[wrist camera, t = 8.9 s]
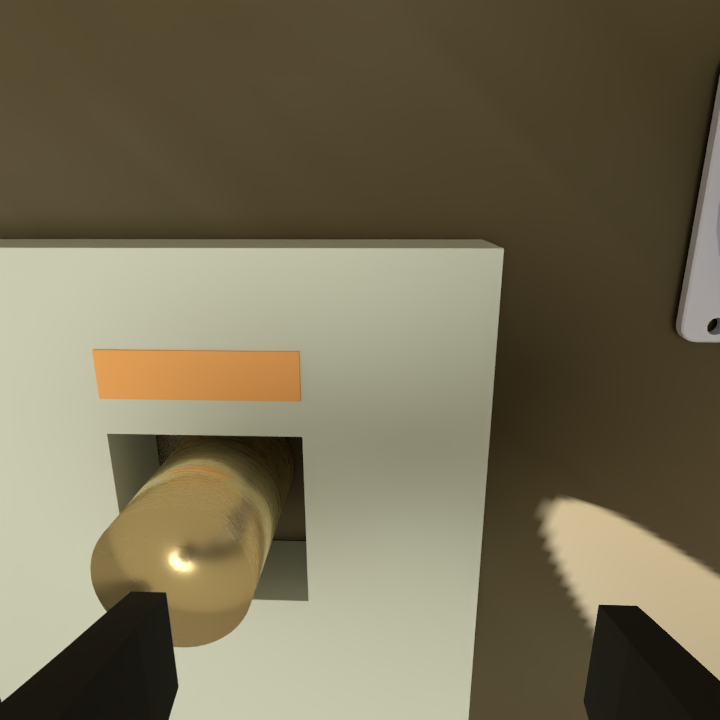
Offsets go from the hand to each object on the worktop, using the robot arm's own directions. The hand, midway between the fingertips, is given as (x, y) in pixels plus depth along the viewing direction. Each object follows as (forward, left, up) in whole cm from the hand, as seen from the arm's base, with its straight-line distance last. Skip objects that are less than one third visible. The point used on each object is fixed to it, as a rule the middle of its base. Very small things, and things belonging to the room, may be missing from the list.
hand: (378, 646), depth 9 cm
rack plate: (+5, +2, -9) cm, 11 cm away
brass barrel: (+5, +2, -9) cm, 11 cm away
